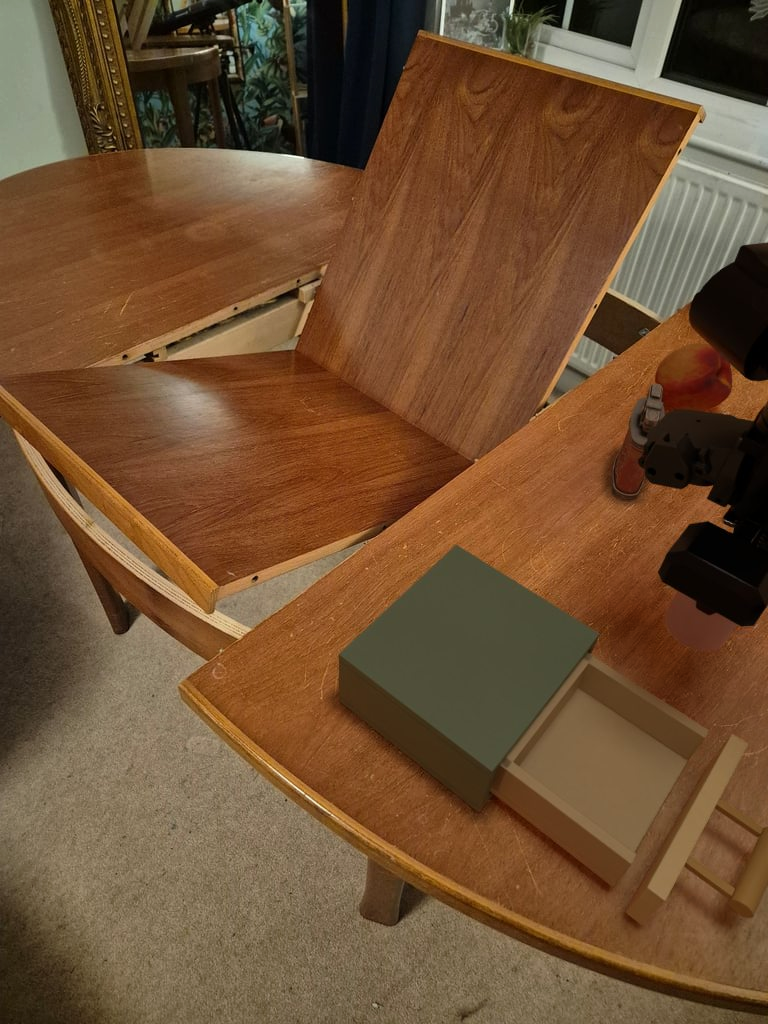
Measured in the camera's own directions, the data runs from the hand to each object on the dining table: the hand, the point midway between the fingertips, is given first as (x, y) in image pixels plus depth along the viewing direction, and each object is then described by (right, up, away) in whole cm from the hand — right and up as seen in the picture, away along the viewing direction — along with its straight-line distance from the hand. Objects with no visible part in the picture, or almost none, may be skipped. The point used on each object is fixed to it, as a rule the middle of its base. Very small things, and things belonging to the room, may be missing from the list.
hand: (717, 590), depth 55 cm
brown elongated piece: (+1, +10, +24) cm, 26 cm away
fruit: (+11, +18, +33) cm, 40 cm away
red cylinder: (0, -3, +3) cm, 5 cm away
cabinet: (-19, -9, +5) cm, 21 cm away
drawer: (-7, -15, -3) cm, 17 cm away
